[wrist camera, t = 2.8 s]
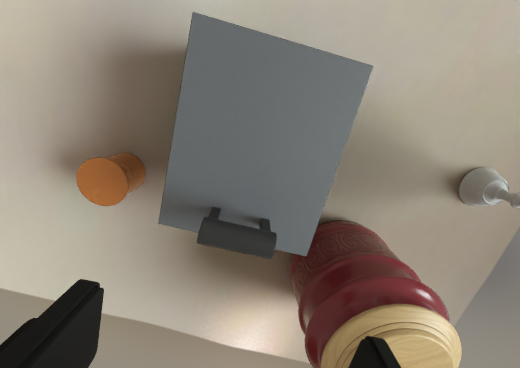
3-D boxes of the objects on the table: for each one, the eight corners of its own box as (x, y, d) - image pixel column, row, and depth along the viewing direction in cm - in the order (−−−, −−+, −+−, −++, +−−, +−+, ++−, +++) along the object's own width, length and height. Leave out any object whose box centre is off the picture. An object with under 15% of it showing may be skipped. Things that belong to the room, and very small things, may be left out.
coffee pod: (96, 167, 30) (65, 178, 25) (126, 141, 29) (100, 147, 24) (127, 199, 31) (103, 215, 26) (157, 174, 30) (138, 186, 25)
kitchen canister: (291, 306, 36) (324, 483, 19) (284, 223, 32) (318, 348, 15) (382, 297, 35) (499, 467, 18) (385, 213, 32) (535, 327, 15)
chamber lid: (304, 251, 22) (319, 292, 17) (161, 219, 21) (132, 253, 16) (368, 67, 18) (412, 50, 13) (195, 16, 17) (170, -25, 12)
